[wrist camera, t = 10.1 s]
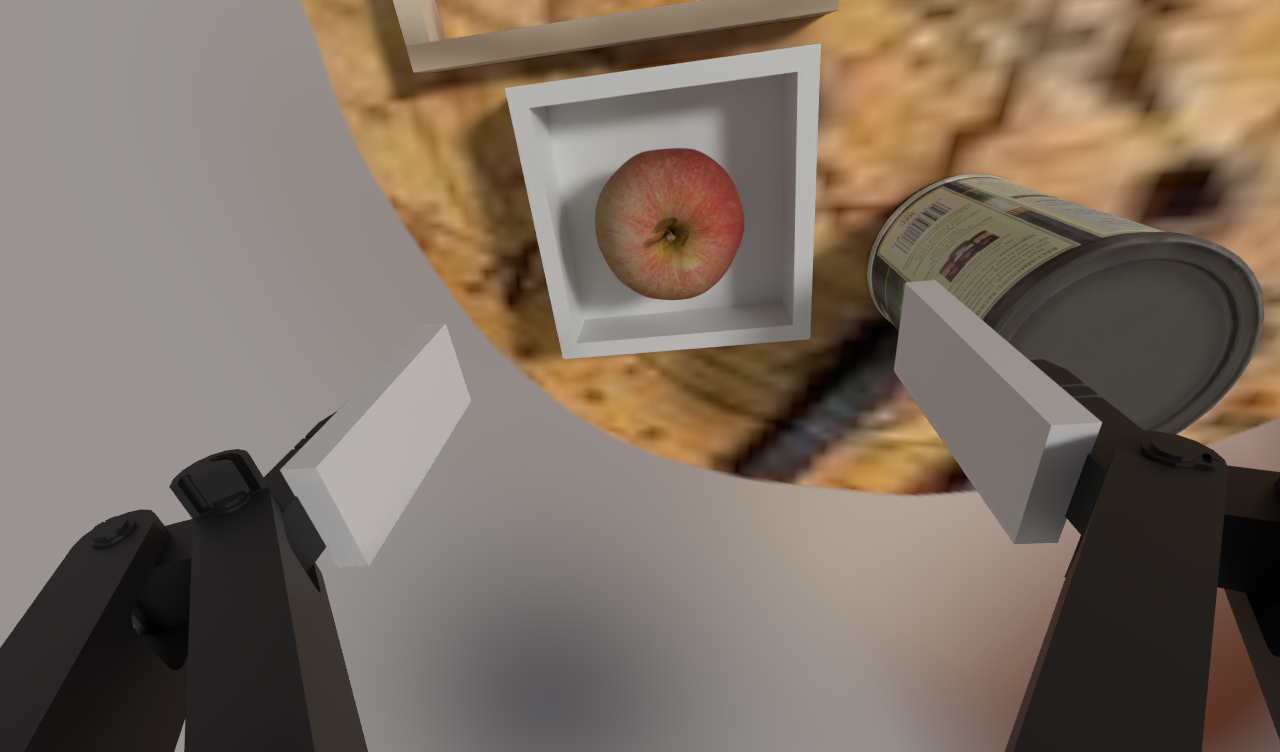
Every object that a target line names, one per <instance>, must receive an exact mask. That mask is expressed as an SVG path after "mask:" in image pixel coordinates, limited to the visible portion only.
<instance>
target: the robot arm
mask: <svg viewBox="0 0 1280 752" xmlns="http://www.w3.org/2000/svg"><path fill="white" fill-rule="evenodd" d="M894 372H895V373H896V375H897V376H898V377H899V379H900V380H901V382H902V383H903V385H904V386H905V388H906V389H907V390H908V392H909V393H910V395H911V396H912V398H913V399H914V401H915V402H916V403H917V405H918V406H919V408H920V409H921V411H922V412H923V413H924V415H925V416H926V418H927V419H928V421H929V422H930V424H931V425H932V426H933V428H934V429H935V431H936V432H937V434H938V435H939V437H940V438H941V439H942V441H943V442H944V444H945V445H946V447H947V448H948V450H949V451H950V452H951V454H952V455H953V457H954V458H955V460H956V461H957V462H958V464H959V465H960V467H961V468H962V470H963V471H964V473H965V474H966V475H967V477H968V478H969V480H970V481H971V483H972V484H973V486H974V487H975V488H976V490H977V491H978V493H979V494H980V496H981V497H982V498H983V500H984V501H985V503H986V504H987V506H988V507H989V508H990V510H991V511H992V513H993V514H994V516H995V517H996V519H997V520H998V522H999V523H1000V524H1001V526H1002V527H1003V529H1004V530H1005V532H1006V533H1007V534H1008V536H1009V537H1010V539H1011V540H1012V542H1013V543H1014V544H1030V543H1057V542H1058V541H1059V538H1060V535H1061V532H1062V530H1063V527H1064V525H1065V522H1066V519H1068V520H1069V521H1070V522H1071V524H1072V525H1073V526H1074V527H1075V528H1076V529H1077V531H1078V532H1079V533H1080V534H1081V537H1080V540H1079V542H1078V545H1077V547H1076V550H1075V552H1074V555H1073V557H1072V560H1071V562H1070V565H1069V567H1068V570H1067V572H1066V575H1065V581H1064V584H1063V587H1062V590H1061V593H1060V596H1059V598H1058V601H1057V604H1056V607H1055V610H1054V612H1053V615H1052V618H1051V621H1050V624H1049V627H1048V630H1047V632H1046V635H1045V638H1044V641H1043V644H1042V647H1041V650H1040V652H1039V656H1038V658H1037V661H1036V664H1035V667H1034V670H1033V672H1032V675H1031V678H1030V681H1029V684H1028V687H1027V690H1026V692H1025V696H1024V698H1023V701H1022V704H1021V707H1020V710H1019V712H1018V715H1017V718H1016V721H1015V724H1014V727H1013V729H1012V732H1011V735H1010V738H1009V741H1008V744H1007V747H1006V749H1005V752H1201V751H1202V740H1203V731H1204V720H1205V710H1206V699H1207V689H1208V678H1209V667H1210V658H1211V646H1212V637H1213V625H1214V616H1215V605H1216V595H1217V587H1219V588H1224V590H1225V592H1226V595H1227V598H1228V600H1229V603H1230V606H1231V609H1232V611H1233V614H1234V617H1235V620H1236V622H1237V625H1238V628H1239V630H1240V633H1241V636H1242V639H1243V641H1244V644H1245V647H1246V649H1247V652H1248V655H1249V658H1250V660H1251V663H1252V665H1253V668H1254V671H1255V674H1256V677H1257V679H1258V682H1259V685H1260V688H1261V690H1262V693H1263V695H1264V698H1265V701H1266V704H1267V706H1268V709H1269V712H1270V714H1271V717H1272V720H1273V723H1274V726H1275V728H1276V731H1277V734H1278V736H1279V739H1280V472H1274V471H1266V470H1258V469H1250V468H1243V467H1235V466H1227V464H1226V462H1225V460H1224V459H1223V458H1222V457H1221V456H1220V455H1218V454H1217V453H1216V452H1215V451H1214V450H1212V449H1210V448H1208V447H1206V446H1204V445H1202V444H1201V443H1199V442H1197V441H1194V440H1191V439H1188V438H1185V437H1182V436H1179V435H1176V434H1171V433H1165V432H1159V431H1144V430H1143V429H1141V428H1140V427H1139V426H1138V425H1136V424H1135V423H1134V422H1133V421H1131V420H1130V419H1129V418H1128V417H1126V416H1125V415H1124V414H1123V413H1121V412H1120V411H1119V410H1117V409H1116V408H1115V407H1114V406H1112V405H1111V404H1110V403H1109V402H1107V401H1106V400H1105V399H1104V398H1102V397H1099V396H1098V394H1097V393H1096V392H1095V391H1094V390H1092V389H1091V388H1090V387H1088V386H1085V385H1084V384H1085V383H1083V382H1082V381H1081V380H1080V379H1078V378H1077V377H1076V376H1075V375H1073V374H1072V373H1071V372H1070V371H1068V370H1067V369H1064V368H1062V367H1060V366H1057V365H1055V364H1053V363H1051V362H1048V361H1046V360H1044V359H1037V360H1028V359H1027V358H1026V357H1025V356H1024V355H1023V354H1021V353H1020V352H1019V351H1018V350H1017V349H1015V348H1014V347H1013V346H1012V345H1011V344H1010V343H1008V342H1007V341H1006V340H1005V339H1004V338H1003V337H1001V336H1000V335H999V334H998V333H997V332H996V331H994V330H993V329H992V328H991V327H990V326H988V325H987V324H986V323H985V322H984V321H983V320H981V319H980V318H979V317H978V316H977V315H976V314H974V313H973V312H972V311H971V310H970V309H969V308H967V307H966V306H965V305H964V304H963V303H961V302H960V301H959V300H958V299H957V298H956V297H954V296H953V295H952V294H951V293H950V292H949V291H947V290H946V289H945V288H944V287H943V286H942V285H940V284H939V283H938V282H937V281H936V280H930V281H919V282H907V283H905V289H904V297H903V304H902V312H901V320H900V328H899V335H898V343H897V351H896V359H895V366H894ZM470 402H471V399H470V396H469V393H468V390H467V387H466V384H465V381H464V378H463V375H462V372H461V369H460V365H459V363H458V359H457V357H456V353H455V350H454V347H453V344H452V341H451V338H450V335H449V332H448V330H447V327H446V324H436V325H425V326H421V327H420V328H419V329H418V330H417V331H416V332H415V333H414V334H413V335H412V336H411V337H410V338H409V339H408V340H407V341H406V342H405V343H404V344H403V345H402V346H401V347H400V348H399V349H398V351H396V353H394V354H393V355H392V356H391V357H390V359H388V360H387V361H386V363H385V364H384V365H383V366H382V367H381V368H380V369H379V370H378V371H377V372H376V373H375V374H374V375H373V376H372V377H371V378H370V379H369V380H368V381H367V382H366V383H365V384H364V385H363V386H362V387H361V388H360V389H359V390H358V391H357V392H356V393H355V394H354V395H353V396H352V397H351V398H350V399H349V400H348V401H347V402H346V403H345V404H344V405H343V406H342V407H341V408H340V409H339V411H337V412H335V413H333V414H332V415H331V416H329V417H327V418H326V419H324V420H322V421H321V422H319V423H318V424H317V425H316V426H315V427H314V428H313V429H312V430H311V431H310V432H309V433H308V434H307V435H306V438H305V439H302V440H301V441H300V442H299V443H298V444H297V445H296V446H295V449H294V450H291V451H290V452H289V453H288V454H287V455H286V456H285V457H284V458H283V459H282V460H281V461H280V462H279V463H278V464H277V465H276V466H275V467H274V468H273V469H272V470H271V471H270V472H269V473H268V474H267V475H266V476H265V477H264V478H263V476H262V474H261V473H260V471H259V470H258V468H257V466H256V465H255V463H254V461H253V460H252V458H251V457H250V455H249V454H248V452H247V451H245V450H239V449H235V450H228V451H223V452H220V453H217V454H213V455H210V456H208V457H206V458H204V459H202V460H199V461H197V462H195V463H194V464H192V465H191V466H189V467H187V468H186V469H184V470H183V471H182V472H181V473H179V474H178V475H177V476H176V477H175V478H174V479H173V481H172V483H171V485H170V488H171V490H172V491H173V492H174V494H175V495H176V496H177V498H178V499H179V501H180V502H181V503H182V505H183V506H184V508H185V509H186V510H187V512H188V513H189V514H190V516H191V517H192V518H193V519H190V520H186V521H182V522H179V523H175V524H171V525H167V526H164V525H163V523H162V522H161V521H160V520H159V518H158V517H157V516H156V514H155V513H153V512H152V511H151V510H137V511H132V512H128V513H125V514H122V515H120V516H115V517H112V518H110V519H108V520H106V522H102V523H100V524H99V525H97V526H95V527H94V529H93V530H91V531H90V532H88V533H87V534H86V535H84V536H83V537H82V538H81V539H80V540H79V541H78V542H77V543H76V544H75V545H74V546H73V547H72V548H71V550H70V551H69V553H68V554H67V555H66V557H65V558H64V560H63V561H62V562H61V564H60V565H59V567H58V568H57V570H56V571H55V572H54V574H53V575H52V576H51V578H50V579H49V581H48V582H47V583H46V585H45V586H44V588H43V589H42V590H41V592H40V593H39V595H38V596H37V597H36V599H35V600H34V602H33V603H32V605H31V606H30V607H29V609H28V610H27V612H26V613H25V614H24V616H23V617H22V618H21V620H20V621H19V623H18V624H17V625H16V627H15V628H14V630H13V631H12V632H11V634H10V635H9V637H8V638H7V639H6V641H5V642H4V644H3V645H2V646H1V648H0V752H174V751H175V748H176V745H177V742H178V739H179V736H180V733H181V730H182V726H183V723H184V720H185V717H186V721H185V749H184V752H368V750H367V746H366V742H365V739H364V734H363V731H362V727H361V723H360V719H359V715H358V711H357V707H356V704H355V700H354V696H353V692H352V688H351V684H350V680H349V676H348V673H347V669H346V665H345V661H344V657H343V653H342V649H341V645H340V642H339V638H338V634H337V630H336V626H335V622H334V618H333V614H332V611H331V607H330V603H329V599H328V595H327V591H326V587H325V583H324V580H323V576H322V573H321V571H320V570H319V568H318V566H317V565H316V563H315V562H316V560H317V559H318V557H319V556H320V555H321V553H322V552H323V550H324V549H325V548H326V550H327V552H328V553H329V555H330V557H331V558H332V560H333V562H334V564H335V565H336V567H357V566H369V565H370V564H371V562H372V561H373V559H374V557H375V556H376V554H377V552H378V551H379V549H380V548H381V546H382V544H383V543H384V541H385V539H386V538H387V536H388V535H389V533H390V531H391V530H392V528H393V527H394V525H395V523H396V522H397V520H398V518H399V517H400V515H401V514H402V512H403V510H404V509H405V507H406V506H407V504H408V502H409V501H410V499H411V497H412V496H413V494H414V493H415V491H416V489H417V488H418V486H419V485H420V483H421V481H422V480H423V478H424V476H425V475H426V473H427V471H428V470H429V468H430V467H431V465H432V464H433V462H434V460H435V459H436V457H437V455H438V454H439V452H440V450H441V449H442V447H443V446H444V444H445V442H446V441H447V439H448V438H449V436H450V434H451V433H452V431H453V430H454V428H455V426H456V425H457V423H458V421H459V420H460V418H461V416H462V415H463V413H464V412H465V410H466V408H467V407H468V405H469V404H470ZM133 626H134V627H133Z"/></svg>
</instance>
